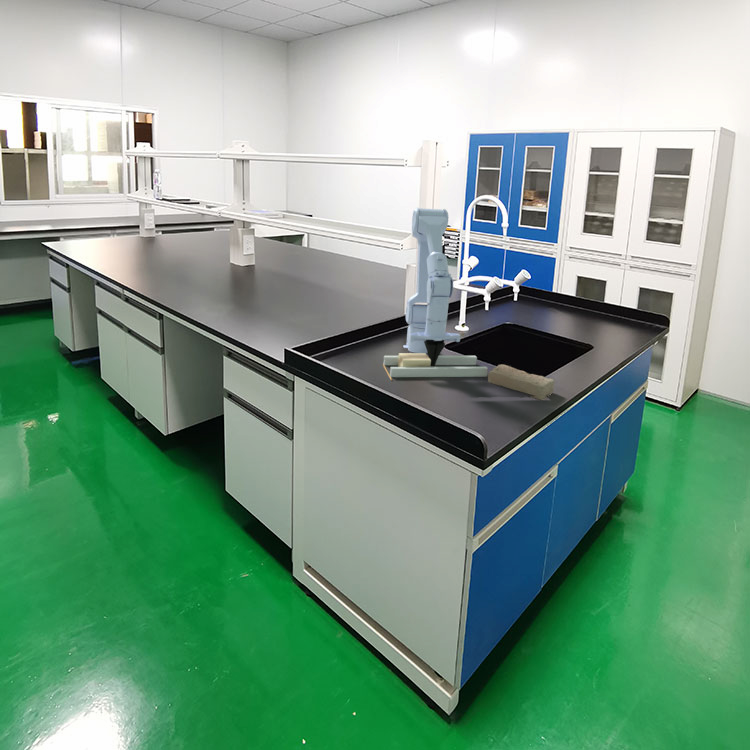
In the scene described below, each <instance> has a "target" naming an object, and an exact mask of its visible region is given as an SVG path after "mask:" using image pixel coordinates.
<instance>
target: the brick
mask: <svg viewBox="0 0 750 750" xmlns="http://www.w3.org/2000/svg"><path fill="white" fill-rule="evenodd" d="M488 371H489V372H488V373H487V382H488V383H490V384H493V385H496V386H499V387H500V386H501V387H502V388H503V387H504V388H507V389H510V390H513V391H517V392H521V393H525V394H528V395H527V396H526V398H527V397H528V398H531V397H532V399H537V400H540V401H544V400H546V399H547V398H548V397H547V396H548V395H550V394H552V393H554V389H555V379H552V378H547V377H545V376H543V375H537V374H534V373H529V372H526V371H524V370H520V369H517V368H515V367H512V366H510V365H508V364H507V365H506V364H498V365H497V366H494V367H493V368H492V369H491V370H488ZM552 395H553V394H552ZM550 396H551V395H550ZM546 397H547V398H546ZM545 398H546V399H545ZM543 399H544V400H543Z"/></svg>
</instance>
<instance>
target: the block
mask: <svg viewBox="0 0 750 750" xmlns="http://www.w3.org/2000/svg"><path fill="white" fill-rule="evenodd" d="M397 356H398V365H397V367H431V366H430V365H431V360H430V358H429V357H428V354H427V353H413V352H409V353H408V352H406V353H405V352H404V353H403V352H402V353H400V352H399V353H398V355H397Z"/></svg>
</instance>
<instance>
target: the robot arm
mask: <svg viewBox="0 0 750 750" xmlns="http://www.w3.org/2000/svg"><path fill="white" fill-rule="evenodd" d="M411 222H412V223H411V233H412V235H411V236H412V237H414V238H415V239H416V240H417V241H416V242H417V263H416V264H417V266H416V267H417V268H416V293H415V294H413V295H412V296H410V297H409V298H408V299H407V301H406V308H405V321H406V323H407V324H408V326H407V330H406V331H407V332H406V333H407V334H406V344H404V345H402V346H403V348H404V349H407V350H408V351H409V353H426V354H427V356H428V357H429V358H430V360H431V365H430V367H436V365H435V364H436V361H437V358H438V356H440V354H441V353H442V351H443V349H444V348H445V347H446V342H456V343H459V342H460V341H461V335H460V334H459V333H457V332H456V333H455V332H453V333H452V332H446V330H447V321H448V310H449V302H450V298H452V296H453V293H454V279H453V276H452V274H451V273H450V272H449V264H448V258H447V256H446V254H445V253H443V235H444V234H445V233H446V229H448V225H449V212H448V211H447V209H445V208H444V209H442V208H441V209H438V208H421V207H415V208H414V210H413V213H412V220H411ZM419 303H420V304H419ZM422 303H423V304H422Z"/></svg>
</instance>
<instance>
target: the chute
mask: <svg viewBox="0 0 750 750" xmlns="http://www.w3.org/2000/svg"><path fill="white" fill-rule="evenodd" d="M398 356H399V355H384V356H383V363H382V367H383V369H384V371H386V374H387V376H388V377H389V379H390V381H391V382H392V381H393V378H427V377H428V378H438V377H439V378H440V377H441V378H445V377H446V378H449V377H450V378H455V377H456V378H457V377H458V378H460V377H461V378H463V377H464V378H465V377H468V378H469V377H473V378H474V377H483V378H484V377H488V373H489V372H488V371H489V370H488V369H489V368H488V367H487V366H476V365H477V359H478V357H477V356H476V355H439V356H438V358H437V361H436V364H435V366H430V367H398ZM386 366H390V367H389V368H390V369H389V370H387V368H386Z"/></svg>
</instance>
